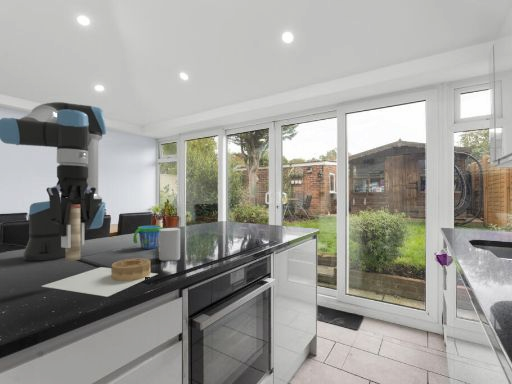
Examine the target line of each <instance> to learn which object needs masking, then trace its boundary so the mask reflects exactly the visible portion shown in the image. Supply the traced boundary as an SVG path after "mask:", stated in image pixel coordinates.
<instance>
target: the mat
mask: <svg viewBox="0 0 512 384" xmlns="http://www.w3.org/2000/svg"><path fill="white" fill-rule="evenodd" d="M157 275H158V273H156V272H155V273H154V272H151V273H150V275H149V276H147V277H150V278H153V277H154V276H157ZM143 281H145V278H142V279H138V280H133V281H116V280H113V279H112V278H111V267H104V266H103V267H101V266H100V267H96V268H94V269H90V270H86V271H84V272H82V273H78V274H75V275H71V276H68V277H65V278H63V279H59V280H56V281H53V282H50V283H46V284H44V285H41V287H43V288H50V289H57V290H63V291H68V292H75V293H80V294H81V293H82V294H87V295H94V296H100V297H106V298H109V297H110V296H112V295H115V294H117V293H118V292H121V291H123V290H126V289H128V288H130V287H132V286H134V285H136V284H138V283H141V282H143Z"/></svg>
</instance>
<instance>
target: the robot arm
mask: <svg viewBox="0 0 512 384" xmlns="http://www.w3.org/2000/svg"><path fill="white" fill-rule="evenodd" d="M104 117H105V116H104V111H103V109H102V108H100V107H96V106H92V105H85V104H84V105H83V104H79V103H78V104H76V103H68V102H62V101H61V102H60V101H54V102H47V103H43V104H39V105H37V106H35V107H34V108H32V110H31V112H30V113H28V114H26V115H24V116H23V117H21V118H15V117H2V118H0V141H1V142H2V143H4V144H9V145H16V146H32V147H49V148H56V163H57V164H59V165H57V166H56V178H57V183H56V185H55V186H51V187H47V188H46V192H47V194H48V198H49V199H48V201H47V200H46V201H40V202H33V203H31V204H30V206H29V209H28V210H29V213H28V219H29V220H28V226H29V227H28V234H29V235H28V236H29V239H28V241H27V244H26V246H25V250H24V252H23V260H24V261H27V262H28V261H29V262H32V261H33V262H39V261H50V260H55V259H60V258H66V248H71V225H68V220H69V214H70V208H71V204H80V246H84V245H85V233H86V232H87V230H91V229H92V230H93V229H100V228H101V227H102V226H103V223H104V217H105V210H106V204H107V203H106V202H104V201H103V198H102V197H101V196H100V195H99V141H101V140H102V139H103V135H106V123H105V118H104Z"/></svg>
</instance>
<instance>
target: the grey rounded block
mask: <svg viewBox="0 0 512 384" xmlns="http://www.w3.org/2000/svg"><path fill="white" fill-rule="evenodd" d="M180 259H181V228H179V227H167V228H166V227H164V228H163V229H159V243H158V260H160V261H165V262H166V261H169V262H170V261H179V260H180Z"/></svg>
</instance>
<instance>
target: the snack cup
mask: <svg viewBox="0 0 512 384" xmlns="http://www.w3.org/2000/svg"><path fill="white" fill-rule="evenodd" d="M159 229H164V228H163V227H162V226H161V225H150V224H149V225H143V226H142V225H141V226H138V227H137V229H136V230H135V231H134V234H133V241H132V242H133V243H134V244H137V243H138V238H137V235H138V236H139V241H140V248H141V249H143V250H144V249H145V250H152V249H157V248H159Z"/></svg>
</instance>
